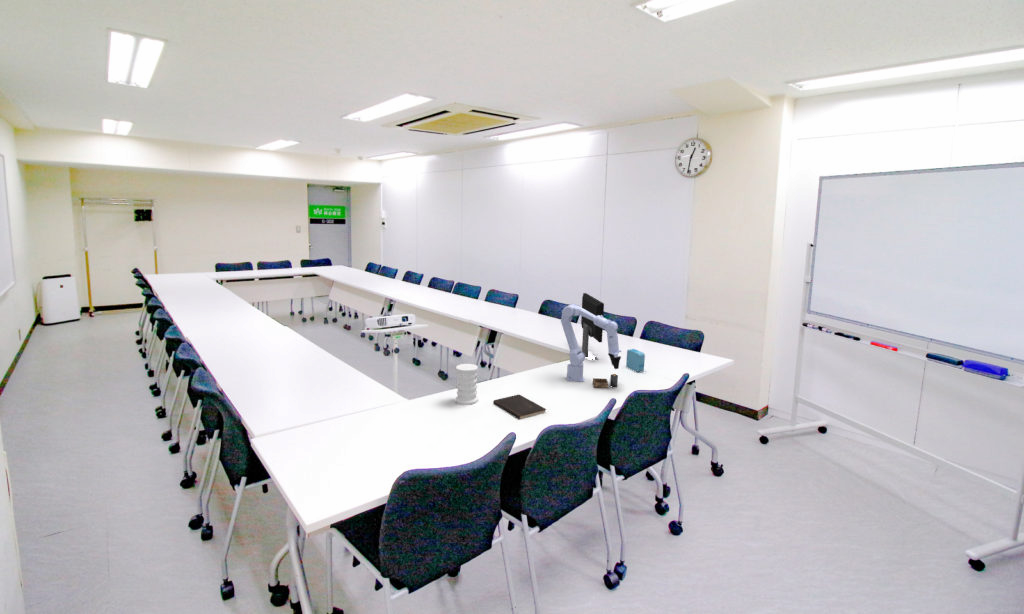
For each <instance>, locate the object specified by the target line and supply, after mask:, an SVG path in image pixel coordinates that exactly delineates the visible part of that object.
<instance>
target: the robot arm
mask: <svg viewBox="0 0 1024 614" xmlns="http://www.w3.org/2000/svg"><path fill="white" fill-rule="evenodd" d="M577 316H580V317H581V316H583V317H585V318H588V319H590V320H592V321H593V322H594V324H595V325H597V326H599V327H601V328H603V330H605V332H606V336H607V337H606V338H607V348H608V353H607V355H608V357H609V359H610V363H611V365H612V366H613V368H614V370H619V367H620V360H621V358H622V356H619V353H622V350H621V349H620V347H619V345H620V344H619V336H618V329H619V327H618V326H619V325H618V323H617V322H616V321H614V320H611V319H608V318H605V317H604V315H603V316H602V315H601V316H600V315H598V316H595V315H593V314H592V313H590V312H588V311H587V310H585V309H583V308H582V306H581V305H577V304H576V303H571V304H570V305H567V306H565V307H564V308H563V309H562V311H561V319H560V323H561V325H562V329H563V332H564V336H565V338H566V342H567V345H568V348H569V363H568V364H566V365H567V368H566V370H567V371H566V380H567V382H585V379H584V361H586V359H585V355H584V353H583V352H582V348H580V347H579V344H578V340H577V337H576V334H575V330H574V329H573V325H572V322H571V321H572V320H573V318H574V317H577Z"/></svg>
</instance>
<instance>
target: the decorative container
mask: <svg viewBox="0 0 1024 614" xmlns="http://www.w3.org/2000/svg"><path fill="white" fill-rule="evenodd" d="M455 370H456V372H457V373H456V377H457V379H456V383H457V386H456V388H457V392H456V395H457V396H456V397H455V402H456V404H458V405H463V406H469V405H471V406H472V405H474V404H477V403H478V402H479V397H478V395H477V394H478V392H477V387H478V385H477V383H478V378H477V376H478V373H477V371H478V370H479V367H478V365H477V364H473V363H461V364H457V365H456V369H455Z"/></svg>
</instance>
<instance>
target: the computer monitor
mask: <svg viewBox="0 0 1024 614" xmlns="http://www.w3.org/2000/svg"><path fill="white" fill-rule="evenodd" d="M581 299H582V300H581V307H582V308H583V309H585V310H587V311H588V312H590V313H592V314H593V315H595V316H598V315H600V316H601V315H602V316H603V317H604V311H605V310H604V309H605V303H604V302H602V301H600V300H599V299H598V298H595V297H593V295H590V294H589V293H586V292H583V294H582V298H581ZM580 317H581V318H580V319H581V320H580V325H581V329H582V342H581V343H582V344H581V345H582V346H581V350H582V352H583V353H584V355H585V357H588V351H589V338H593V339H595V340H596V342H598V343H603V330H604V329H603V328H601V327H599V326H597V325H595V324H594V322H593V321H592V320H590V319H588V318H585V317H583V316H581V315H580ZM592 360H593V359H592ZM595 360H597V361H599V360H600V359H599V358H598V356H596V357H595Z"/></svg>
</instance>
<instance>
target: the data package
mask: <svg viewBox="0 0 1024 614" xmlns="http://www.w3.org/2000/svg"><path fill="white" fill-rule="evenodd" d="M645 359H646V355H645V353H644V352H643V351H640V350H638V349H635V348H631V349H627V351H626V365H625V366H626V368H627V367H628V368H627V369H629V368H630V369H629V370H631V369H632V370H631V371H633V370H634V371H633V372H635V371H637V372H636V373H641V372H640V371H642V372H644V370H645Z"/></svg>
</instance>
